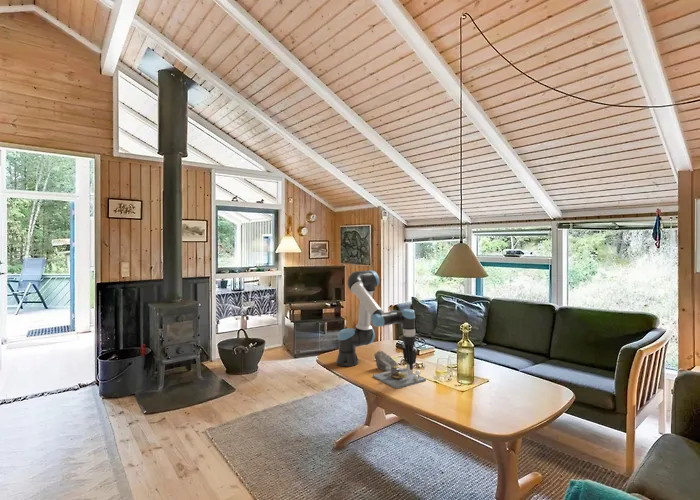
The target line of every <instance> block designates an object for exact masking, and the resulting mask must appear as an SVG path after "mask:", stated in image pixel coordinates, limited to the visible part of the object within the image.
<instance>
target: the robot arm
mask: <svg viewBox="0 0 700 500" xmlns="http://www.w3.org/2000/svg"><path fill="white" fill-rule="evenodd" d="M379 285H380V277H379V275H378V273H377V272H376V271H375V270H373V269H371V270H368V269H367V270H360V271H353V272H352V273H350V274H349V276H348V278H347V286H348V287H347V288H348V289H349V291H350V292H351V293H352V294H354V295H355V296H356V298H357V299H358V300H359V306H358V307H359V308H358V320H357V322H358V323H357V324H356V325H355V328H352V327H349V328H343V329H341V330H340V331H339V332H338V336H337V340H338V354H337V358H336V365H337V364H338V365H337V366H339V365H340V366H339V367H343V366H350V367H355V366H357V365H358V364H359V358H358V355H357V353H356V348H357V347H362V346H369V345H371V344H372V343H373V342H375V338H376V333H375V330H374V328H373V326H374V327H375V328H379V327H384V326H389V325H396V324H400V325H402V341H403V344H402V345H401V349H402V354H403V361H404V362H406V368H408V375H412V374H414V371H413V370H414V364H416V361H417V356H418V355H417V354H418V351H419V348H416V344H415V343H416V339H417V338H416V314H415V309H411V308H405V309H403V310H397V309H392V310H390V311H389V312H384V310H383V309H382V308H381V306H380V305H379V304H378V303H377V301H376V300H375V299H374V298H373V294H374V292H375V291H376V288H377V287H378V286H379ZM371 324H372V325H373V326H372V325H371Z"/></svg>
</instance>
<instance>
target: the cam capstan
mask: <svg viewBox="0 0 700 500" xmlns="http://www.w3.org/2000/svg"><path fill="white" fill-rule="evenodd" d="M400 368H401V367H399V366H398V365H397V366H394V367H392V368H390V367H388V366H387V367H385V369H386V370H388V371H390V372H387V371H385V372H386V373H383V372H381V373H382V376H383V377H386V376H389V375H391V377H392V378H393V379H402V378H407V375H406V374H403V373H401V372H405V371H408V368H407V367H403V368H402V369H400Z"/></svg>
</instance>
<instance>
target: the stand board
mask: <svg viewBox="0 0 700 500" xmlns="http://www.w3.org/2000/svg"><path fill="white" fill-rule="evenodd" d="M399 368H400V369H403V368H401V367H399ZM386 372H390V371H383V372H379V373H375V374H372V378H374V379H376V380H378V381H380V382H383V383H384V384H386V385H388V386H389V387H392V388H394V389H395V390H398V389H402V388H404V387H409V386H413V385H417V384H420V383H423V382H426V381H427V379H426V378H424V377H422V376H420V375H421V371H420V370H419V369H417V370H415V373H413V374H412V375H408V371H405V372H401V373H403V374H406V375H407V378H402V379H393V378H392V377H391V375H389V376H386V377H383V376H382V373H386Z"/></svg>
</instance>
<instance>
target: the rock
mask: <svg viewBox="0 0 700 500" xmlns="http://www.w3.org/2000/svg"><path fill="white" fill-rule="evenodd" d="M374 359H375V363H376V364H375V365H376V367H377V369H380V370H383V371H384V372H387V371H388V370H386V369H385V367H387V366H388V367H390V368H392V367H394V366H398V364H397V362H396V361H395V360H394V359H393V357H391V356H390V355H388V354H387V353H386V352H385V351H383V350H378V351H376V352H375V353H374Z"/></svg>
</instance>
